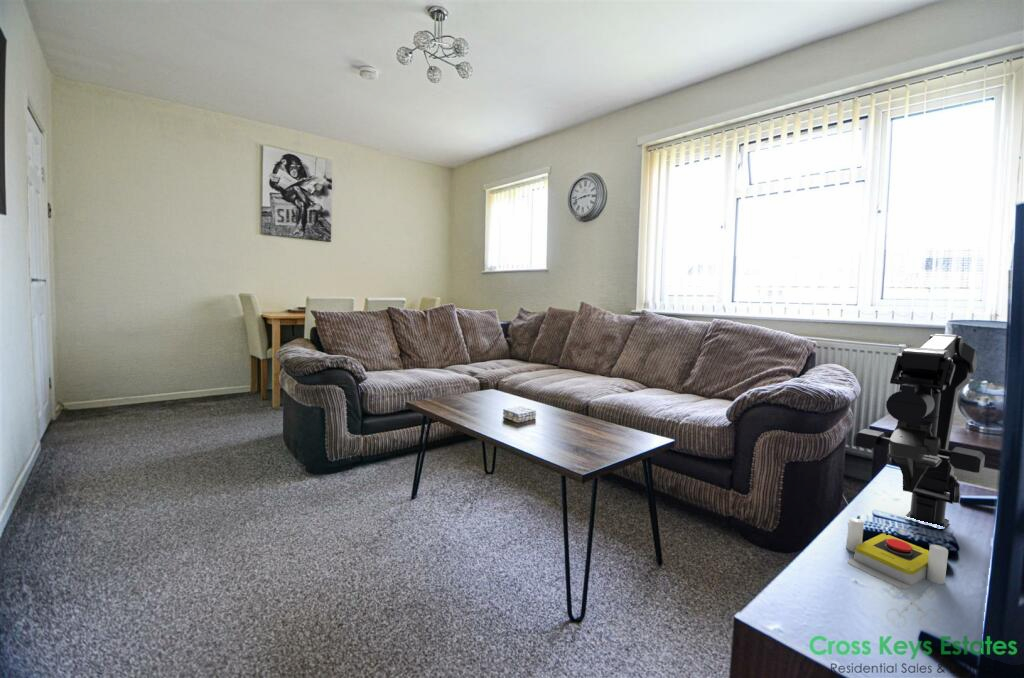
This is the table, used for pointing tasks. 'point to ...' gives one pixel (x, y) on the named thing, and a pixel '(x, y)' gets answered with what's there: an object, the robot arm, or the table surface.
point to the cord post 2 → (937, 564)
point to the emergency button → (892, 560)
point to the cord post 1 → (854, 533)
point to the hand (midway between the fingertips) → (910, 490)
